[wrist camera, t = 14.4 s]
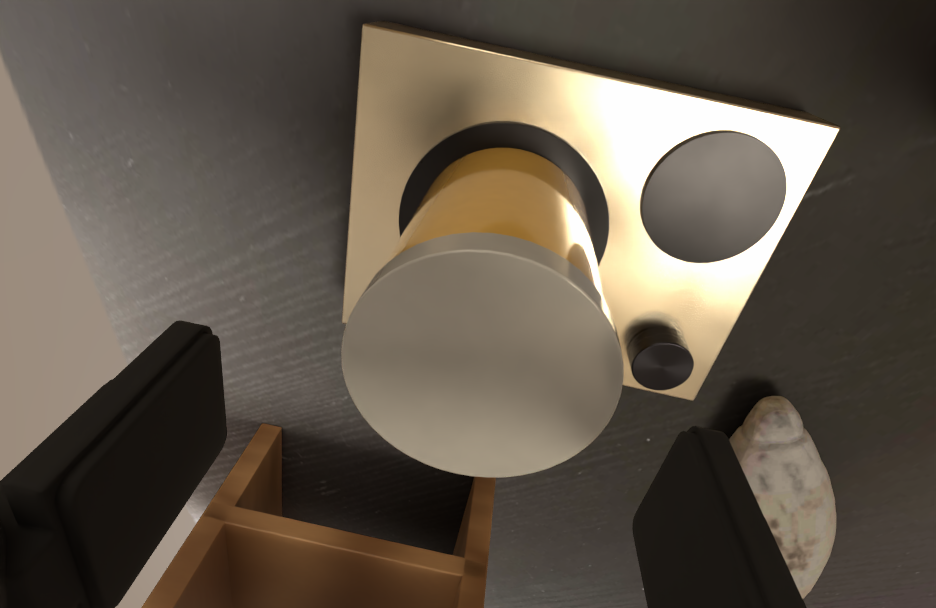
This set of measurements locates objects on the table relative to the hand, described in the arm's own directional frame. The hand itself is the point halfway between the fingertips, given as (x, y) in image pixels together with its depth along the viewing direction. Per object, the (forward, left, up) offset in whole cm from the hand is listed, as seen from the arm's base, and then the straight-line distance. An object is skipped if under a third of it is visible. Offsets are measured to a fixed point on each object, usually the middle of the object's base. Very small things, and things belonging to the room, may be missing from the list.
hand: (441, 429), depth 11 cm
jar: (+1, 0, -11) cm, 11 cm away
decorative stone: (+18, -13, -14) cm, 26 cm away
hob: (+3, 0, -14) cm, 14 cm away
